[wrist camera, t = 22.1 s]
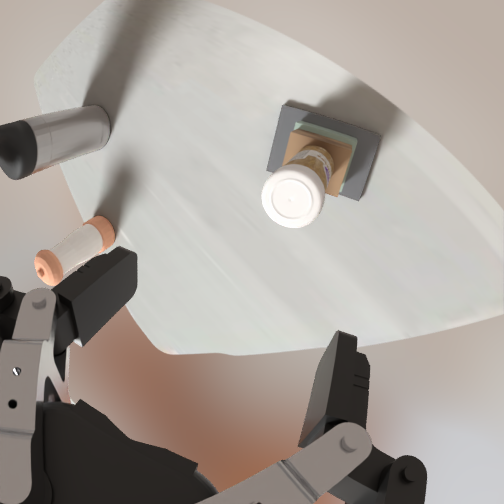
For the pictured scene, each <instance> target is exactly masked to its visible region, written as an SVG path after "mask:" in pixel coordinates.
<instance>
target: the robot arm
mask: <svg viewBox="0 0 504 504" xmlns="http://www.w3.org/2000/svg"><path fill="white" fill-rule="evenodd" d="M109 135H110V122H109V118H108V116H107V114H106V112H105V111H104V110H103V109H102V108H101V107H99V106H97V105H91V106H85V107H79V108H73V109H68V110H62V111H57V112H53V113H48V114H43V115H39V116H35V117H31V118H27V119H23V120H19V121H16V122H12V123H8V124H5V125H1V126H0V167H1V168H2V170H3V171H4V173H5V174H6V175H7V176H8V177H9V178H11V179H13V180H19V179H22V178H24V177H27V176H29V175H32V174H34V173H36V172H39V171H42V170H44V169H46V168H49V167H51V166H54V165H57V164H60V163H62V162H65V161H68V160H71V159H74V158H76V157H79V156H82V155H85V154H88V153H91V152H94V151H97V150H100V149H102V148H103V147H104V146H105V145H106V143H107V141H108V139H109ZM136 289H137V254H136V253H135V252H132V251H130V250H128V249H125V248H123V247H121V246H119V247H116V248H115V249H114V250H112V251H111V252H109V253H108V254H106V253H105V254H102V255H99V256H96V257H94V258H92V259H91V260H89V261H88V262H87V263H85V265H84V266H81V267H80V268H79V269H78V270H77V271H75V272H73V273H72V274H71V275H69V276H68V277H67V278H65V279H64V280H63V281H62V282H60V283H59V284H58V285H56V286H55V287H54V288H53V289H51V290H49V289H46V288H37V289H34V290H31V291H30V292H28V293H27V294H26V293H22V292H18V291H15V290H13V287H12V284H11V281H10V279H8V278H7V277H3V276H0V504H313V503H314V502H315V501H316V500H317V499H318V498H319V497H320V496H321V495H323V494H324V493H325V492H329V493H330V494H332V495H334V496H336V497H337V498H339V499H341V500H343V501H345V504H424V502H425V494H426V484H427V471H426V468H425V466H424V465H423V463H422V462H421V461H420V460H419V459H417V458H416V457H414V456H408V455H405V456H401V457H399V458H398V459H394V458H392V457H390V456H388V455H387V454H385V453H383V452H381V451H380V450H378V449H377V448H376V447H374V446H373V444H372V441H371V438H370V435H369V434H368V432H367V431H366V420H367V409H368V396H369V391H368V389H369V378H370V365H369V362H368V360H367V358H366V355H365V354H362V353H359V352H357V351H356V350H357V337H356V336H354V335H351V334H348V333H345V332H342V331H339V330H338V331H337V332H336V333H335V335H334V336H333V338H332V340H331V342H330V344H329V346H328V347H327V349H326V351H325V353H324V354H323V356H322V358H321V360H320V363H319V365H318V368H317V371H316V375H315V380H314V384H313V388H312V392H311V397H310V401H309V405H308V409H307V413H306V418H305V421H304V425H303V428H302V432H301V436H300V440H299V444H298V447H301V448H304V449H302V450H301V451H299V452H297V453H296V454H294V455H293V456H291V457H290V458H288V459H286V460H281V461H279V462H277V463H275V464H273V465H271V466H270V467H268V468H266V469H264V470H263V471H261V472H259V473H257V474H255V475H253V476H252V477H250V478H248V479H246V480H244V481H242V482H240V483H238V484H236V485H234V486H232V487H231V488H229V489H226V490H224V491H222V492H220V493H219V492H218V491H217V490H216V488H215V487H214V486H213V484H212V483H211V482H210V481H209V480H208V479H207V478H205V476H203V475H202V474H201V473H200V472H198V471H197V467H198V463H196V462H193V461H191V460H189V459H186V458H184V457H182V456H180V455H178V454H175V453H174V452H171V451H169V450H167V449H165V448H160V447H156V446H152V445H149V444H145V443H141V442H137V441H134V440H131V439H130V438H128V437H127V436H126V435H125V434H124V433H123V432H122V431H120V430H119V429H118V428H117V427H116V426H115V425H114V424H113V423H112V422H111V421H110V420H109V419H108V418H107V416H106V415H104V414H102V413H101V412H99V411H98V410H96V409H95V408H93V407H91V406H90V405H89V404H87V403H86V402H84V401H83V400H81V399H80V400H79V401H78V402H77V403H76V405H74V404H71V401H70V396H69V392H68V375H69V356H70V347H69V345H70V344H71V343H72V342H73V341H74V342H75V343H77V344H78V345H80V346H81V347H83V346H84V345H85V344H86V343H87V342H88V341H89V340H90V339H91V338H92V337H93V336H94V335H95V334H96V333H97V332H98V331H99V330H100V329H101V328H102V327H103V326H104V325H105V324H106V323H107V322H108V321H109V320H110V319H111V317H113V316H114V315H115V314H116V312H118V311H119V310H120V309H121V308H122V307H123V306H124V305H125V304H126V303H127V302H128V301H129V300H130V299H131V298H132V297H133V295H134V293H135V291H136Z"/></svg>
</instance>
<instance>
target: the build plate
mask: <svg viewBox="0 0 504 504" xmlns="http://www.w3.org/2000/svg"><path fill="white" fill-rule="evenodd" d="M298 128H299V129H302V130H305V131H309V132H312V133H316V134H319V135H322V136H325V137H328V138H332V139H335V140H338V141H341V142H344V143H347V144H350V145H352V153H351V157H350V160H349V163H348V166H347V169H346V172H345V176H344V179H343V182H342V185H341V188H340V191H339V194H340V195H343V196H345V197H348V198H351V199H354V200H356V201H359V199H360V196H361V194H362V191H363V188H364V185H365V182H366V179H367V177H368V174H369V171H370V168H371V165H372V162H373V159H374V156H375V153H376V150H377V146H378V143H379V140H380V137H381V135H379V134H376V133H373V132H371V131H368V130H365V129H362V128H359V127H357V126H354V125H351V124H348V123H345V122H342V121H338V120H335V119H332V118H329V117H326V116H322V115H319V114H316V113H312V112H309V111H305V110H302V109H298V108H294V107H291V106H287V105H282V108H281V112H280V116H279V120H278V125H277V129H276V133H275V137H274V141H273V145H272V149H271V153H270V158H269V162H268V166H267V170H266V171H269V172H273V173H274V172H275V171H276V170H277V169H279V168H280V167H282V164H283V161H284V157H285V153H286V149H287V145H288V141H289V137H290V133H291V132H292V131H294V130H296V129H298Z"/></svg>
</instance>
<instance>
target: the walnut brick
mask: <svg viewBox="0 0 504 504" xmlns="http://www.w3.org/2000/svg"><path fill="white" fill-rule="evenodd" d="M306 146H319V147H322V148H324V149H325V150H326V151H327V152H328V153H329V154H330V155H331V157H332V159H333V163H334V170H333V173H332V176H331V178H330V181H329V184H328V186H327V189H326V190H325V193H326V194H329V195H332V196H335V197H338V194H339V191H340V188H341V185H342V182H343V179H344V176H345V172H346V169H347V166H348V163H349V160H350V157H351V153H352V145H350V144H347V143H344V142H341V141H338V140H335V139H332V138H328V137H325V136H322V135H319V134H316V133H312V132H309V131H305V130H302V129H299V128H298V129H296V130H294V131H292V132H291V133H290V137H289V141H288V145H287V149H286V153H285V157H284V161H283V164H282V166H284V165H285V164H286V163H287V162H288V161H289V160H290V159H292V158H293V157H294V156H295V155H296V154H297V153H298V152H299V151H300V150H301V149H302V148H305V147H306Z"/></svg>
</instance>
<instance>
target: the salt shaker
mask: <svg viewBox="0 0 504 504" xmlns="http://www.w3.org/2000/svg"><path fill="white" fill-rule="evenodd" d="M114 240H115V232H114V229H113V227H112V225H111V223H110V222H109V221H108V220H107V219H106V218H105V217H103V216H95V217H94V218H92V219H90V220H88V221H87V222H85V223H84V224H83V226H82V227H80V228H78V229H76V230H75V231H73V232H72V233H71V234H70V235H68V236H67V237H66V238H65V239H64V240H63V241H62V242H61V243H59V244H58V245H56V246H55V247H53V248H52V249H50V250H41V251H39V252H38V253H37V255H36V258H35V268H36V271H37V275H38V277H40V278H41V279H42V280H43V281H44V282H45V283H46V284H48V285H52V286H53V285H57V284H59V283H60V282H61V280H62V278H63V275H64V274H65V273H67V272H68V271H69V270H71V269H72V268H73V267H75V266H76V265H78V264H80V263H82V262H85V261H87V260H89V259H91V258H92V257H93V256H95V255H96V254H97V253H101V252H103V251H104V250H106V249H107V248H108V247H110V246H111V245H112V244H113V243H114Z"/></svg>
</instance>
